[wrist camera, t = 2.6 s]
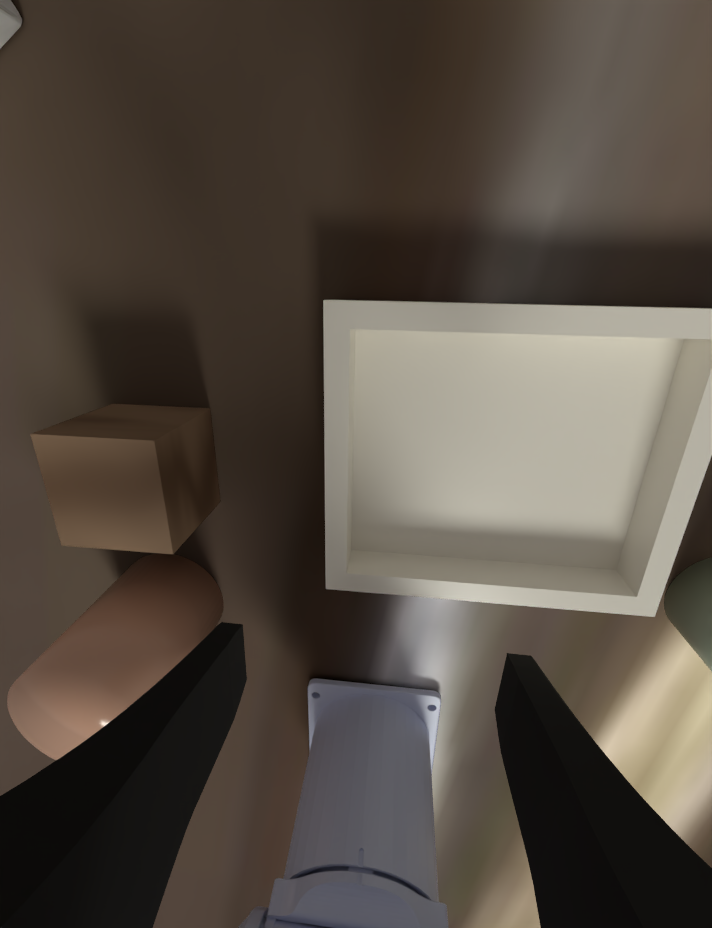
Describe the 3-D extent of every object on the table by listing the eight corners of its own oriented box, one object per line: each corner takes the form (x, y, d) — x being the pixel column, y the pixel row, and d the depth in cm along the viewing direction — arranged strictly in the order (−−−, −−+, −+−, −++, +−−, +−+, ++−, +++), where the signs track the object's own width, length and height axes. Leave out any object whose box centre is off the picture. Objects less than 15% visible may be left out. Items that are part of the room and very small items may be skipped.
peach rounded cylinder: (227, 640, 26) (158, 779, 18) (134, 632, 26) (29, 763, 19) (217, 557, 24) (133, 676, 16) (115, 549, 24) (-12, 661, 17)
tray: (627, 582, 21) (654, 616, 19) (333, 559, 23) (325, 588, 20) (712, 308, 17) (763, 309, 14) (333, 299, 18) (323, 299, 16)
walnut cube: (221, 500, 22) (173, 554, 18) (131, 494, 23) (61, 545, 18) (210, 407, 20) (154, 440, 16) (113, 403, 21) (30, 434, 16)
